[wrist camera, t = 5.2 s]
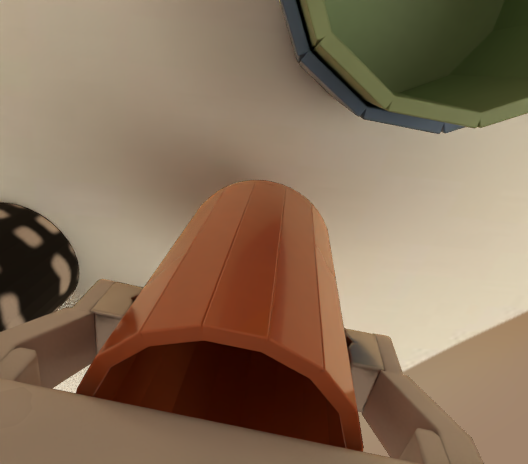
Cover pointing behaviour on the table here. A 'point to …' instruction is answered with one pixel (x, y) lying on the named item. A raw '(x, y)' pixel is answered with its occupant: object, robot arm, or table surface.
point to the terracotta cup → (240, 324)
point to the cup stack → (416, 58)
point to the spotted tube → (32, 266)
